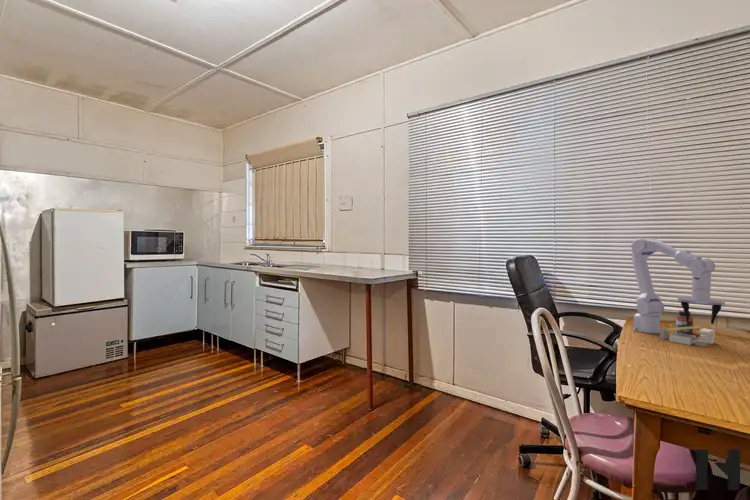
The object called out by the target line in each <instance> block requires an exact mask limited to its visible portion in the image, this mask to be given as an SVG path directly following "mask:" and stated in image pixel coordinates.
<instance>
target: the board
mask: <svg viewBox="0 0 750 500" xmlns="http://www.w3.org/2000/svg"><path fill="white" fill-rule="evenodd" d="M665 329H669V327H666V326H663V327H662V328H661V327H659V339H660V340H666V339H669V331H665ZM694 346H697V347H703V348H704V347H707V343H706V341H701V340H700V339H696V340H695V343H694Z"/></svg>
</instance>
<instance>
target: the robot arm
mask: <svg viewBox="0 0 750 500" xmlns="http://www.w3.org/2000/svg"><path fill="white" fill-rule="evenodd" d="M630 248H631V250H632V252H631V261H632V265H633V270H634V274H635V278H636V282H637V287H638V290H639V294H640V295H639V296H638V297H637V298H636V303H637V304H636V309H637V312H638V313H635V314H634V317H633V328H632V330H633V332H635V331H636V332H641V333H645V334H660V323H661V322H660V321H661V319H660V318H661V316H662V313H664V311H665V305H664V303H663V302H662V300H661V297H660V296H659V295H658V294H656V292H655V289H654V288H655V287H654V285H653V282H652V281H653V280H652V277H651V273H650V269H649V266H648V262H647V260H648V259H649V258H650V257H651V256H652V255H653V254H654V253H656V252H661V253H662V254H664V255H666V256H669V257H672V258H673V259H674V261H675V263H677V264H680V265H681V266H684V267H686V268H688V269H689V271H690V272H691V276H692V281H691V283H692V284H691V297H677V303H678V304H679V303H680V305H681V307H682V310H684V312H685V314H686V321H689V311H690V305H691V304H693V305H694V304H695V305H705V306H711V316H710V317H711V318H710V324H711V325H714V323H715V320H716V317H717V315H718V314H719V312H720V311H721V309H722V307H724V308H725V306H726V301H724V300H714V299H711V287H712V286H711V285H712V284H711V283H712V273H713V272H714V271H715V268H716V264H715V262H714V261H713V260H711V259H710V258H702V256H701V255H696V254H694V253H692V252H691V251H690V250H688V249H682V250H678V249H676V248H674V247H672V246H670V245H668V244H667V243H664V242H663V241H662V240H659V239H657V238H640V237H639V238H635V239H634V241H632V244H630Z"/></svg>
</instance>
